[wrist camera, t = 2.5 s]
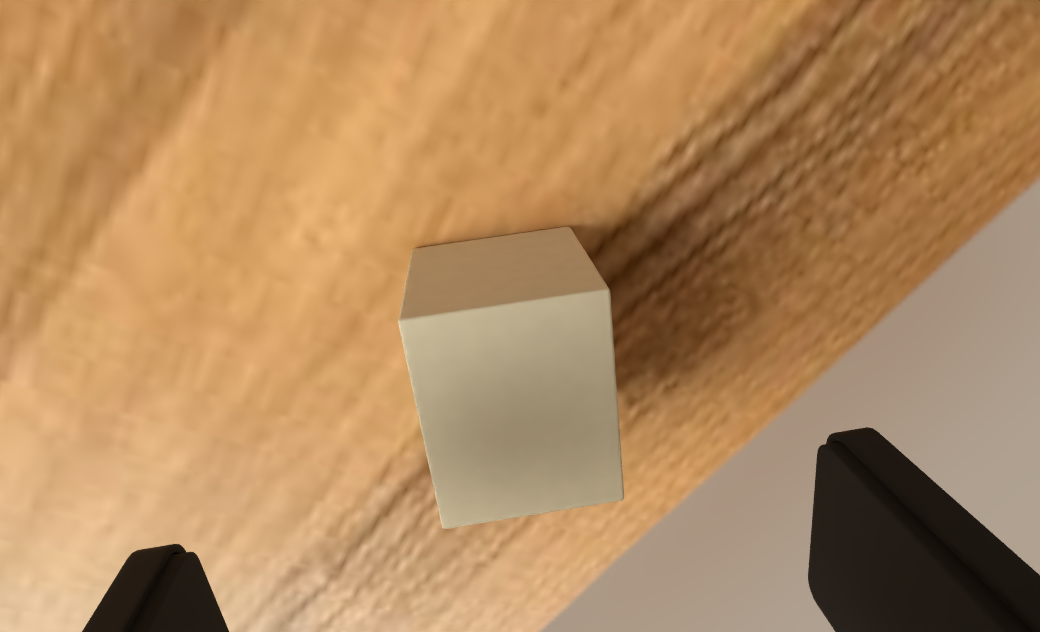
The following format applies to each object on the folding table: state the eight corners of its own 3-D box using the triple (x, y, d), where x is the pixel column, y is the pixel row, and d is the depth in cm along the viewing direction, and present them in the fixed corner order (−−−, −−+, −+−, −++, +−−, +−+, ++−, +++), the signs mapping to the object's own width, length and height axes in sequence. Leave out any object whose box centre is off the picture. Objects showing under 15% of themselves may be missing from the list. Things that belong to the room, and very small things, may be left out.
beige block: (569, 225, 16) (610, 289, 12) (585, 396, 18) (625, 501, 14) (411, 248, 16) (397, 320, 12) (444, 418, 18) (442, 530, 14)
